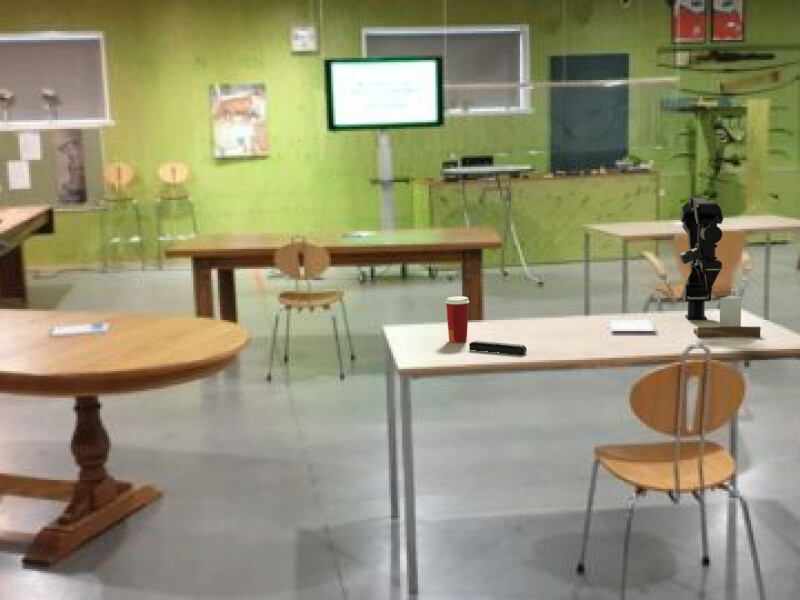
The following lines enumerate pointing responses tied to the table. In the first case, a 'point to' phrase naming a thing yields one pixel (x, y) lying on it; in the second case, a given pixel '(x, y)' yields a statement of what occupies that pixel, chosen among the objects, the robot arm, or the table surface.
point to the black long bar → (498, 347)
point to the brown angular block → (727, 331)
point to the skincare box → (730, 311)
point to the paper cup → (457, 318)
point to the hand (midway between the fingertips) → (705, 288)
